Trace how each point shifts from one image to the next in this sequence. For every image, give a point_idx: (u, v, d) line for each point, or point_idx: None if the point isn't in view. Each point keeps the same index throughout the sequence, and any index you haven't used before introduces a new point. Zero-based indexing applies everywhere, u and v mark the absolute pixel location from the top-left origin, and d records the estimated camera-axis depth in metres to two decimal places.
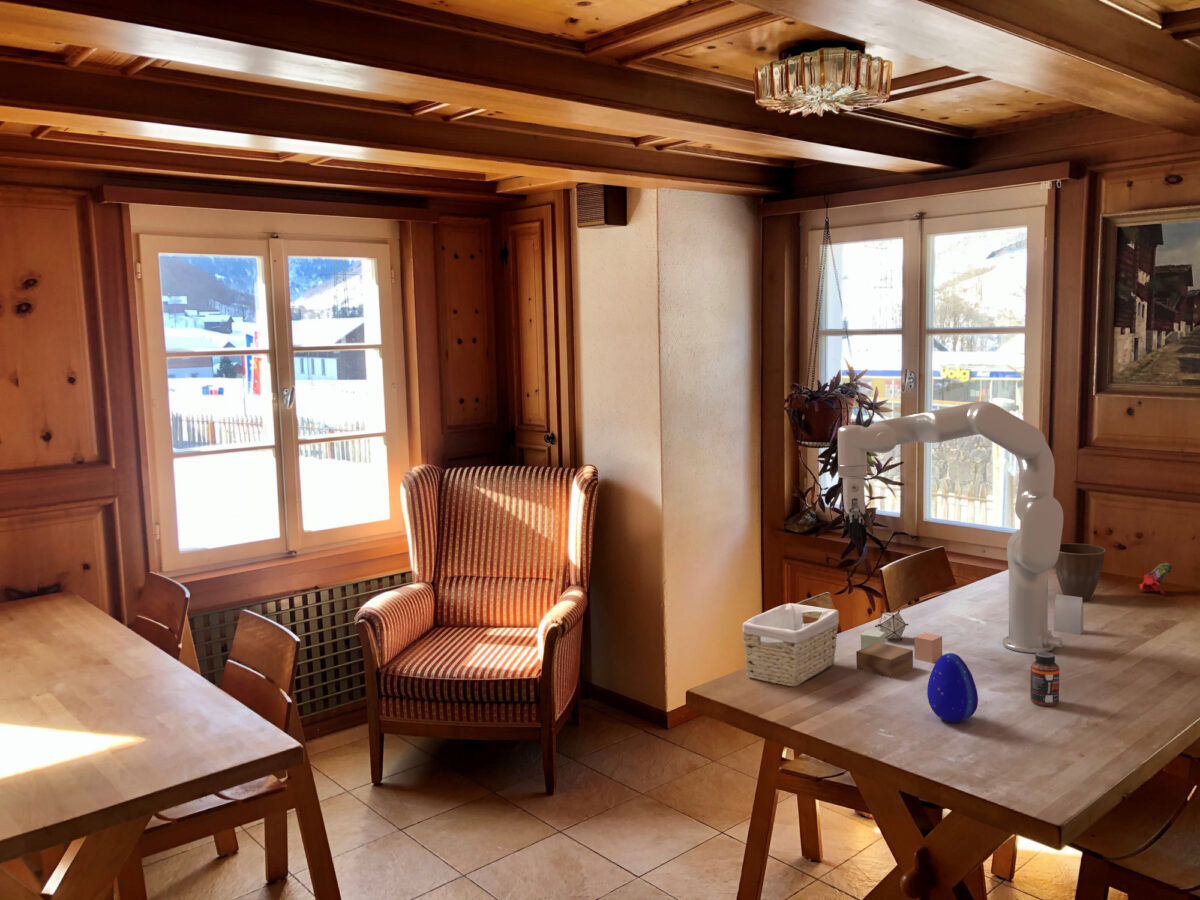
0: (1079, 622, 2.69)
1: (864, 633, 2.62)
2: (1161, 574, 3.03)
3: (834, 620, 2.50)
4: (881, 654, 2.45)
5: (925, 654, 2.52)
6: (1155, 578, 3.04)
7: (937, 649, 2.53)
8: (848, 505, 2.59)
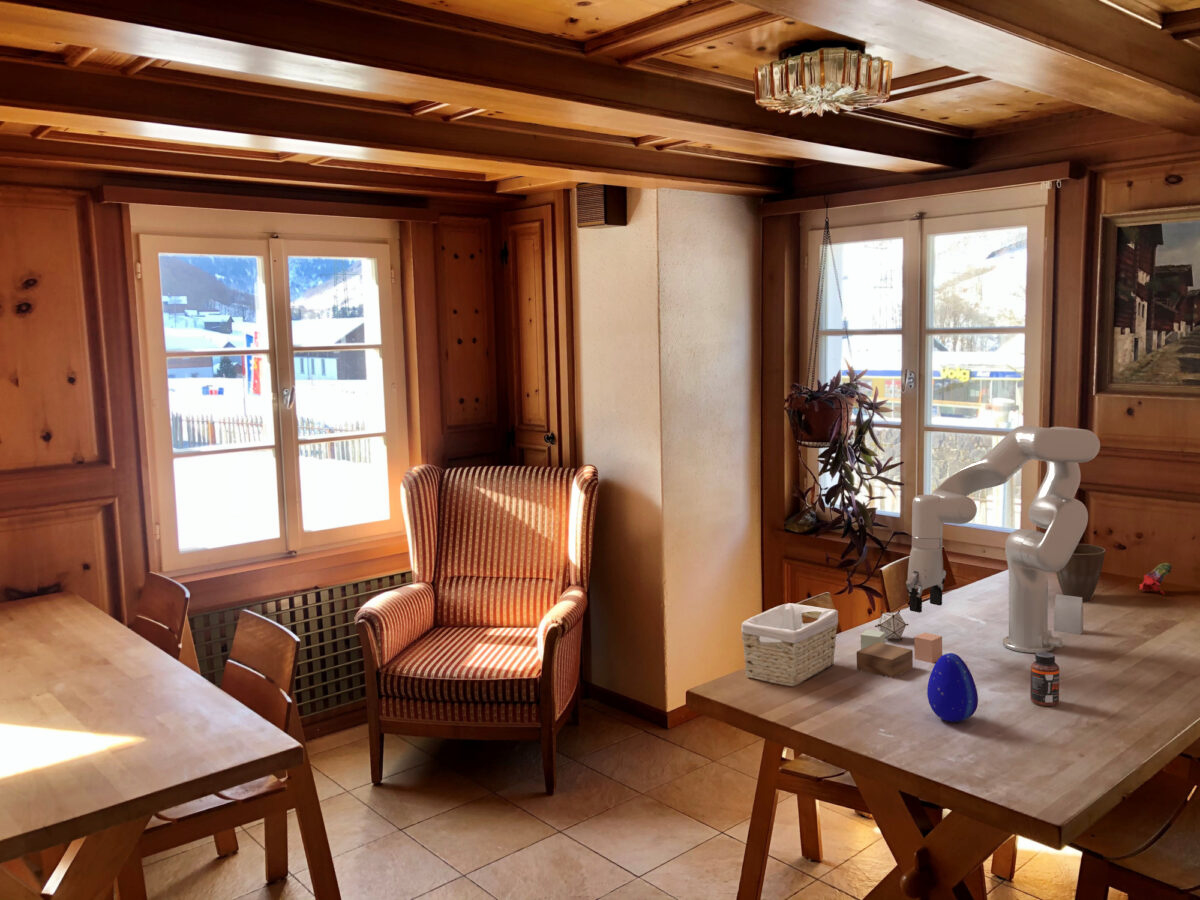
0: (1079, 622, 2.69)
1: (864, 633, 2.62)
2: (1161, 574, 3.03)
3: (834, 620, 2.50)
4: (881, 654, 2.45)
5: (925, 654, 2.52)
6: (1155, 578, 3.04)
7: (937, 649, 2.53)
8: None
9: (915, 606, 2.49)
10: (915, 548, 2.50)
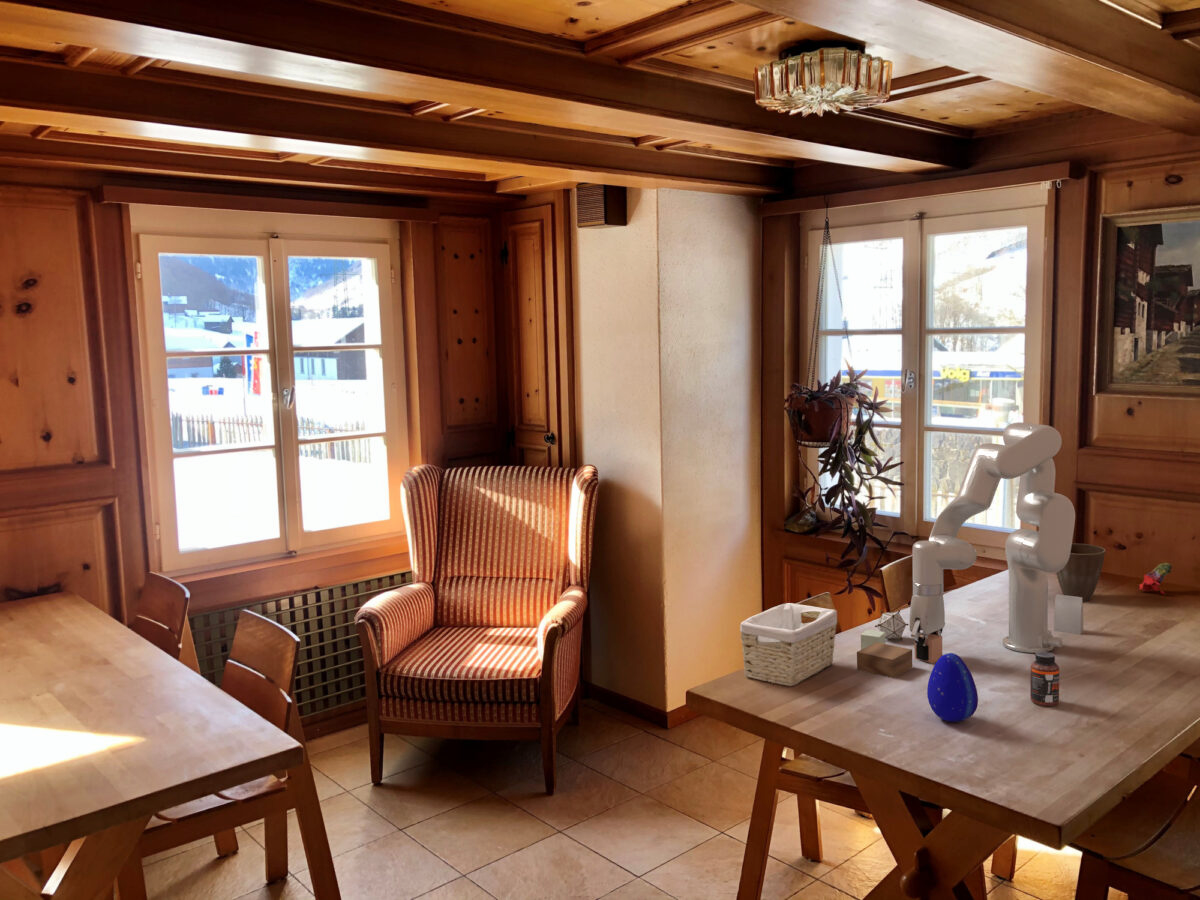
0: (1079, 622, 2.69)
1: (864, 633, 2.62)
2: (1161, 574, 3.03)
3: (833, 619, 2.50)
4: (881, 654, 2.45)
5: None
6: (1155, 578, 3.04)
7: (937, 649, 2.53)
8: None
9: (922, 654, 2.52)
10: (916, 594, 2.51)
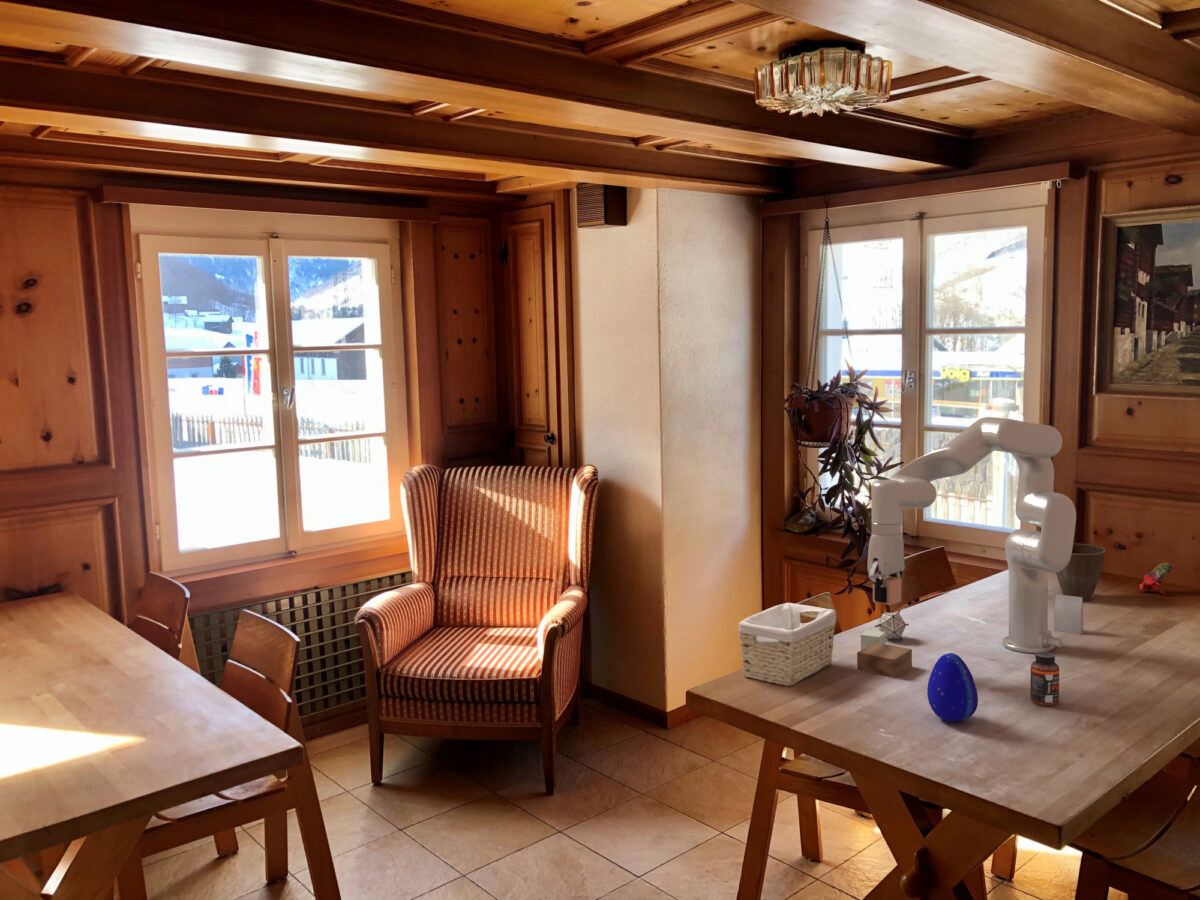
0: (1079, 622, 2.69)
1: (864, 633, 2.62)
2: (1161, 574, 3.03)
3: (831, 619, 2.50)
4: (882, 654, 2.45)
5: None
6: (1155, 578, 3.04)
7: (896, 591, 2.45)
8: None
9: (880, 596, 2.44)
10: (875, 534, 2.44)
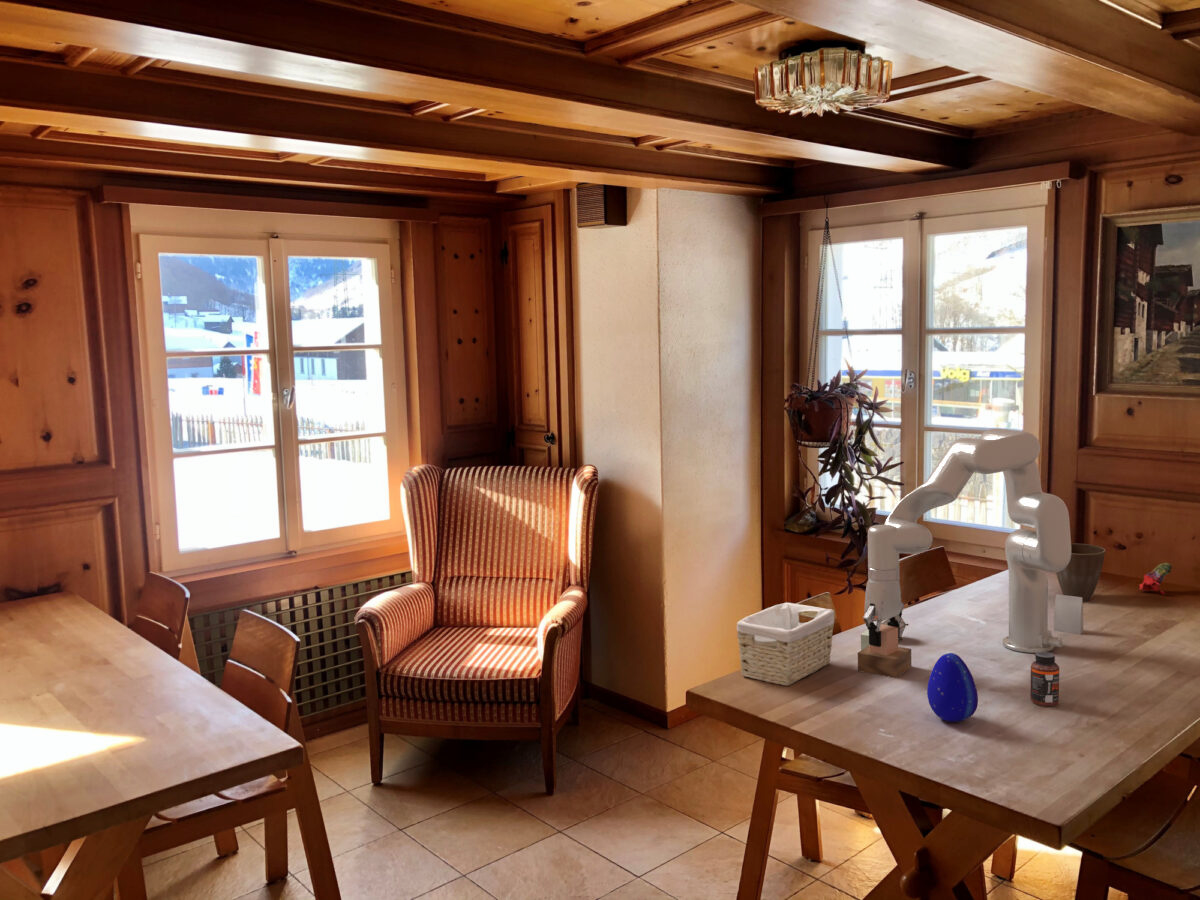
0: (1079, 622, 2.69)
1: (864, 633, 2.62)
2: (1161, 574, 3.03)
3: (830, 619, 2.50)
4: None
5: (880, 646, 2.46)
6: (1155, 578, 3.04)
7: (893, 641, 2.46)
8: None
9: (874, 640, 2.44)
10: (871, 580, 2.45)
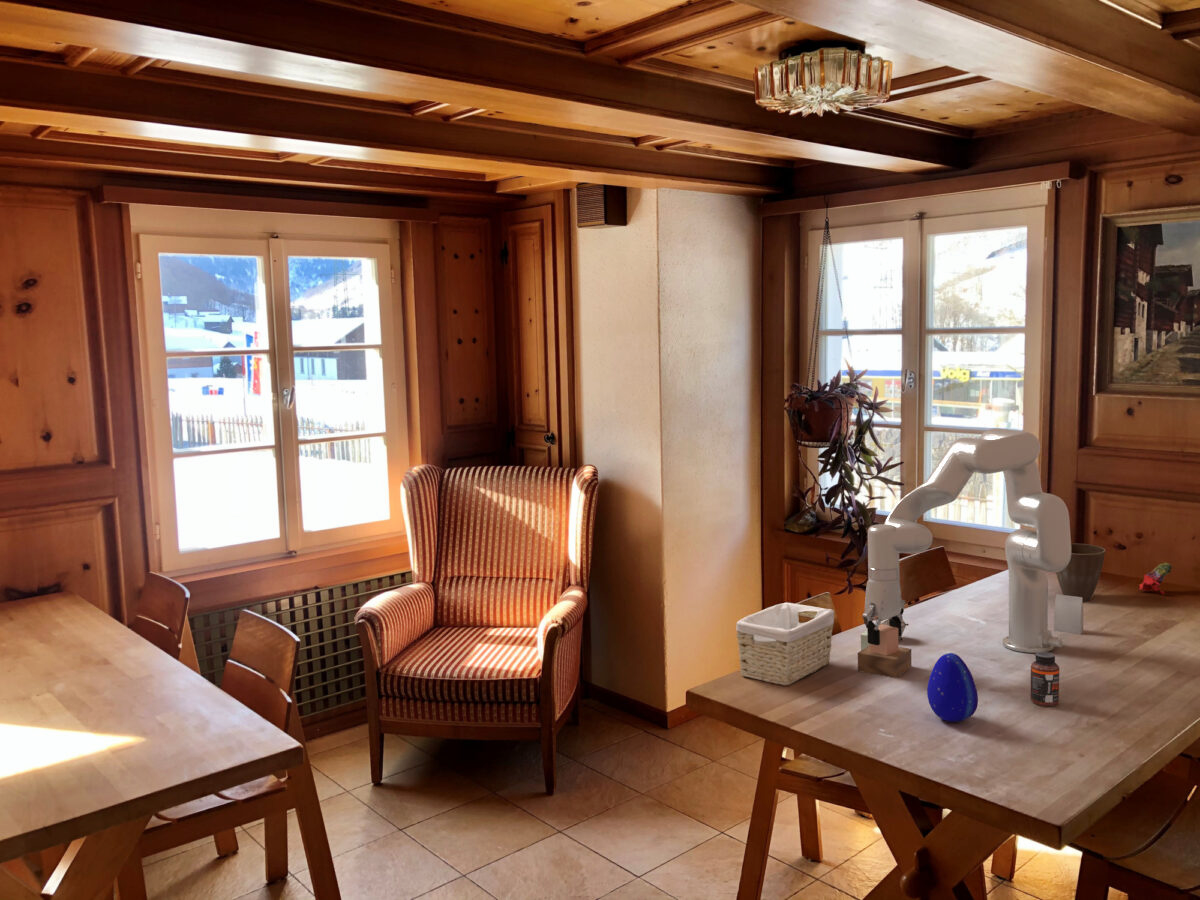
0: (1079, 622, 2.69)
1: (864, 633, 2.62)
2: (1161, 574, 3.03)
3: (829, 619, 2.50)
4: None
5: (880, 646, 2.46)
6: (1155, 578, 3.04)
7: (893, 641, 2.46)
8: None
9: (873, 639, 2.43)
10: (871, 579, 2.45)
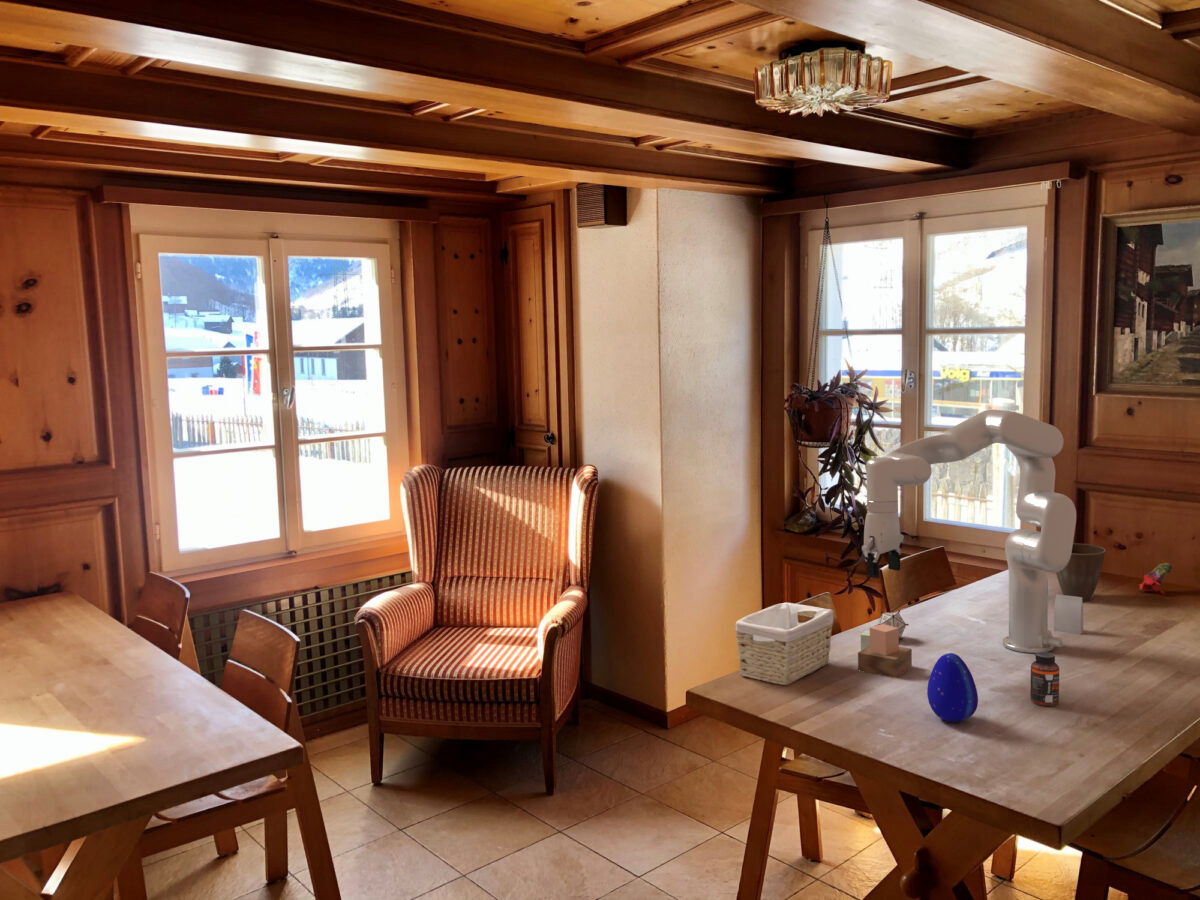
0: (1079, 622, 2.69)
1: (864, 633, 2.62)
2: (1161, 574, 3.03)
3: (828, 619, 2.50)
4: None
5: (879, 646, 2.46)
6: (1155, 578, 3.04)
7: (893, 641, 2.46)
8: None
9: (872, 571, 2.43)
10: (870, 512, 2.44)
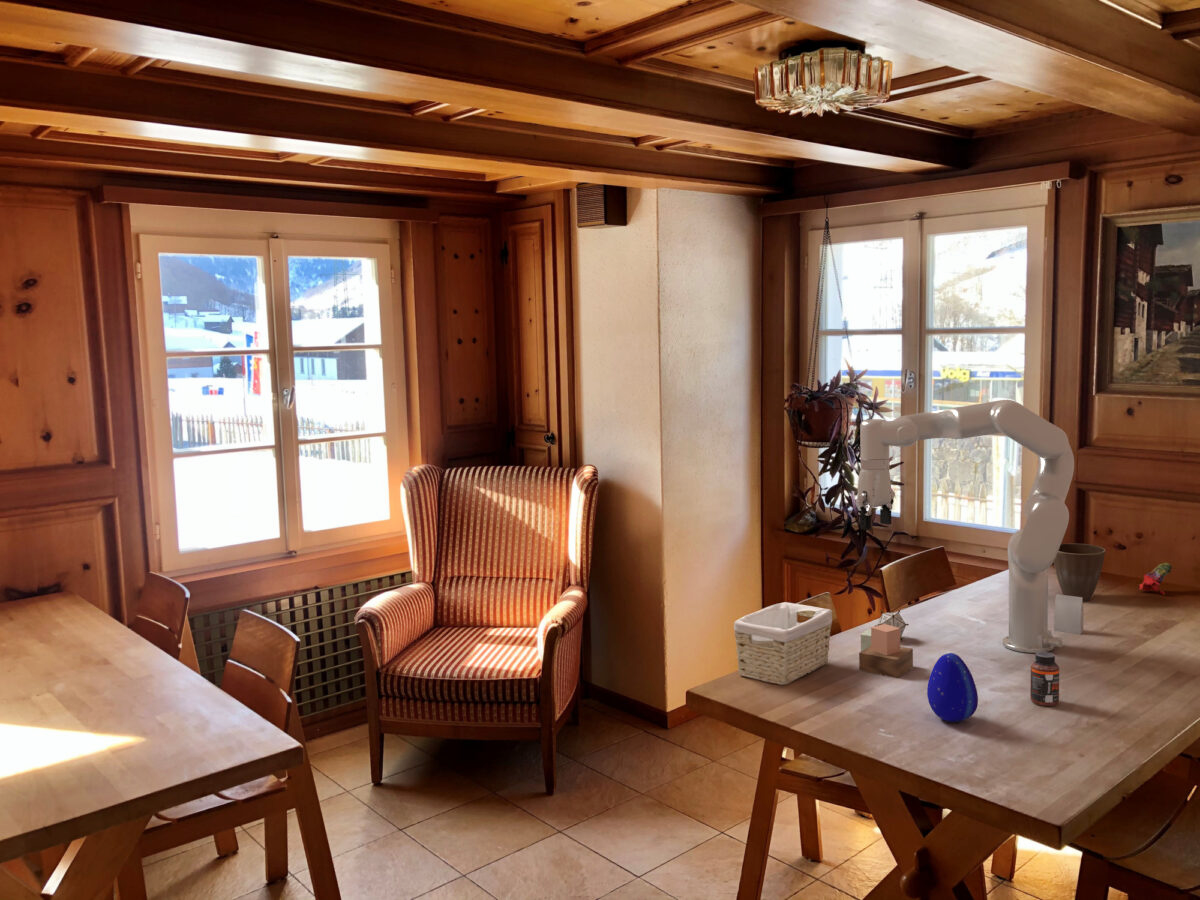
0: (1079, 622, 2.69)
1: (864, 633, 2.62)
2: (1161, 574, 3.03)
3: (827, 619, 2.50)
4: None
5: (881, 646, 2.46)
6: (1155, 578, 3.04)
7: (894, 641, 2.46)
8: None
9: (864, 524, 2.63)
10: (863, 469, 2.64)
